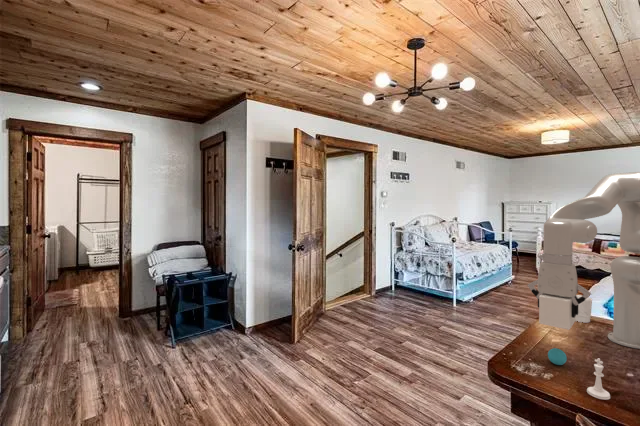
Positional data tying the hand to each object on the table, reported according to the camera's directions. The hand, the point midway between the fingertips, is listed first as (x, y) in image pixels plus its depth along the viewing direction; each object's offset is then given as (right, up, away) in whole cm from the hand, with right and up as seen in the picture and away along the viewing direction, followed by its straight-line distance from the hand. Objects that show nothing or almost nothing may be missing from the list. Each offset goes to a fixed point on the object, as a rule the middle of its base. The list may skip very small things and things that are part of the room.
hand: (557, 313), depth 106 cm
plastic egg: (0, -14, +1) cm, 14 cm away
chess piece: (0, -18, -16) cm, 24 cm away
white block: (0, -3, 0) cm, 3 cm away
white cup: (+37, -15, +38) cm, 55 cm away
